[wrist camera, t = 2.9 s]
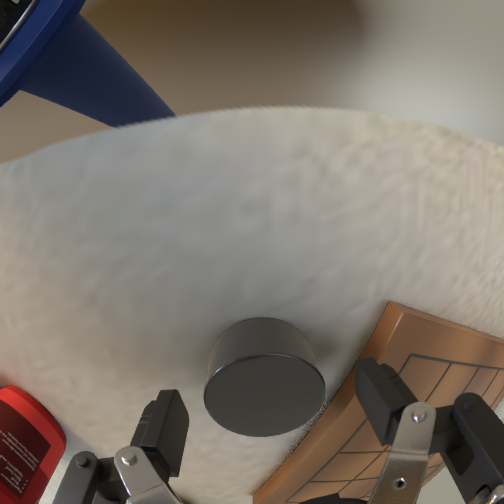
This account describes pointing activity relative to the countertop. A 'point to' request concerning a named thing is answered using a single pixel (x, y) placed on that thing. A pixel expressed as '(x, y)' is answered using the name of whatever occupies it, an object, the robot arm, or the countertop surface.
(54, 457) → the canned food
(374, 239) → the countertop surface
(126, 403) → the countertop surface
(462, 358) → the grid board
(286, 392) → the black stone
